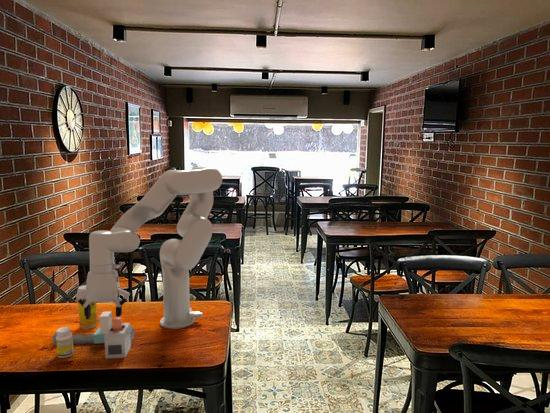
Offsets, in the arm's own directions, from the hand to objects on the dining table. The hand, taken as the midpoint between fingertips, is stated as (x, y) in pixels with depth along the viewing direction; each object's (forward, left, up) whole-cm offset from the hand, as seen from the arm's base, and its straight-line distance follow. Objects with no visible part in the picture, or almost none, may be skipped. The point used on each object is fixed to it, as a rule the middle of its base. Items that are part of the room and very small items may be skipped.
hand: (103, 317), depth 146 cm
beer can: (+9, -13, -9) cm, 18 cm away
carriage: (-1, 0, -8) cm, 8 cm away
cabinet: (-7, +9, -8) cm, 14 cm away
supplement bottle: (+10, +8, -9) cm, 15 cm away
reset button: (-7, +9, -1) cm, 11 cm away
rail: (+3, 0, -8) cm, 9 cm away
